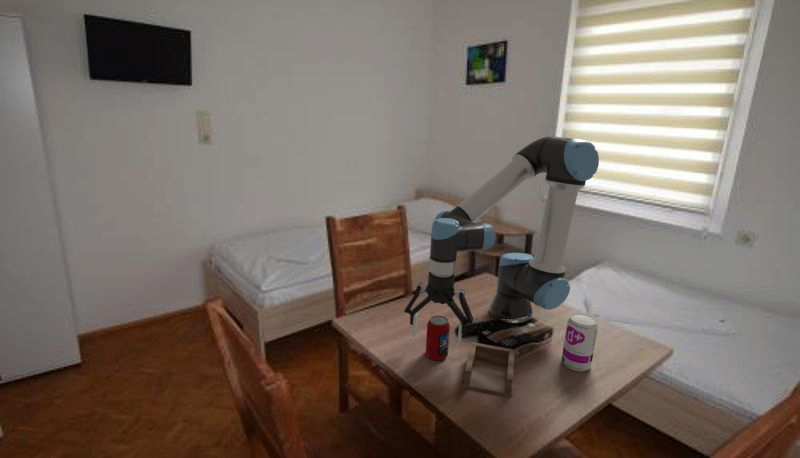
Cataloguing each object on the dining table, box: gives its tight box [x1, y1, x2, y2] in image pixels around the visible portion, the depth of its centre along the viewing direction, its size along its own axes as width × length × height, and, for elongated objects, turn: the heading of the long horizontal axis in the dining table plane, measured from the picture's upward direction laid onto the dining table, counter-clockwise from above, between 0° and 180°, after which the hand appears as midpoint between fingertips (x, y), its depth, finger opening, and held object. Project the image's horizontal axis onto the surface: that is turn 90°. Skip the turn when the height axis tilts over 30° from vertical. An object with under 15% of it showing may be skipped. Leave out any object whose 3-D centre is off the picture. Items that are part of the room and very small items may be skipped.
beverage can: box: [425, 315, 451, 361], centre depth 129 cm, size 7×7×12 cm
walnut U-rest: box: [462, 342, 516, 398], centre depth 121 cm, size 15×13×5 cm
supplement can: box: [561, 313, 599, 372], centre depth 126 cm, size 8×8×15 cm
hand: (436, 338), depth 129 cm, fingers open, 13 cm apart
